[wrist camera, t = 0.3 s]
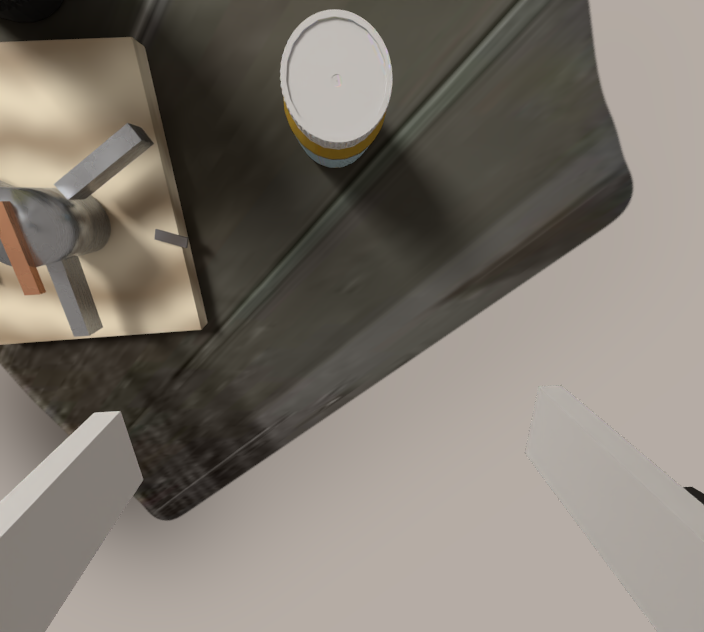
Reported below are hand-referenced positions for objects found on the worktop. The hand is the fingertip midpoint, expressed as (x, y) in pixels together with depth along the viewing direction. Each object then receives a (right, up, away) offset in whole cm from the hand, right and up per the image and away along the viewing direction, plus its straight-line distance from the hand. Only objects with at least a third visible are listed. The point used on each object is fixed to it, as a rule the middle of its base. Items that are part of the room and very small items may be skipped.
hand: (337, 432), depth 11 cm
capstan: (-26, +11, +21) cm, 35 cm away
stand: (-28, +14, +22) cm, 38 cm away
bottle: (-1, +22, +21) cm, 31 cm away
